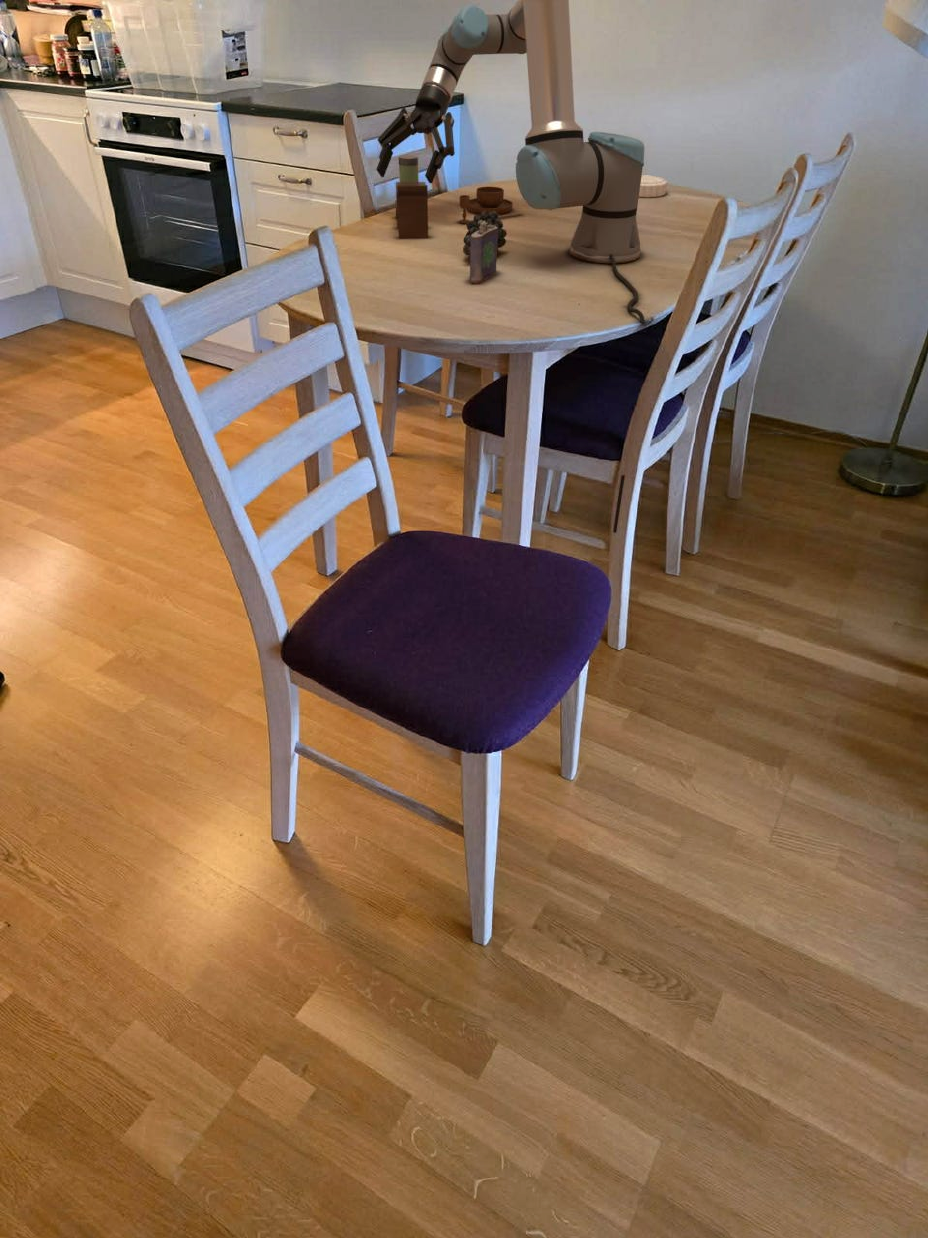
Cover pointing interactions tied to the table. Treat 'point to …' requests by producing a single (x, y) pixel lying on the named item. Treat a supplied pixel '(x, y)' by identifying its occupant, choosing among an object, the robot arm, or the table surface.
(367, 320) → the table surface
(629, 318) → the table surface
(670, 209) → the table surface
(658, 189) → the mooncake
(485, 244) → the flask
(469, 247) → the fruit
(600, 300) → the table surface
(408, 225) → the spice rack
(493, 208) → the place setting
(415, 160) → the spice jar
